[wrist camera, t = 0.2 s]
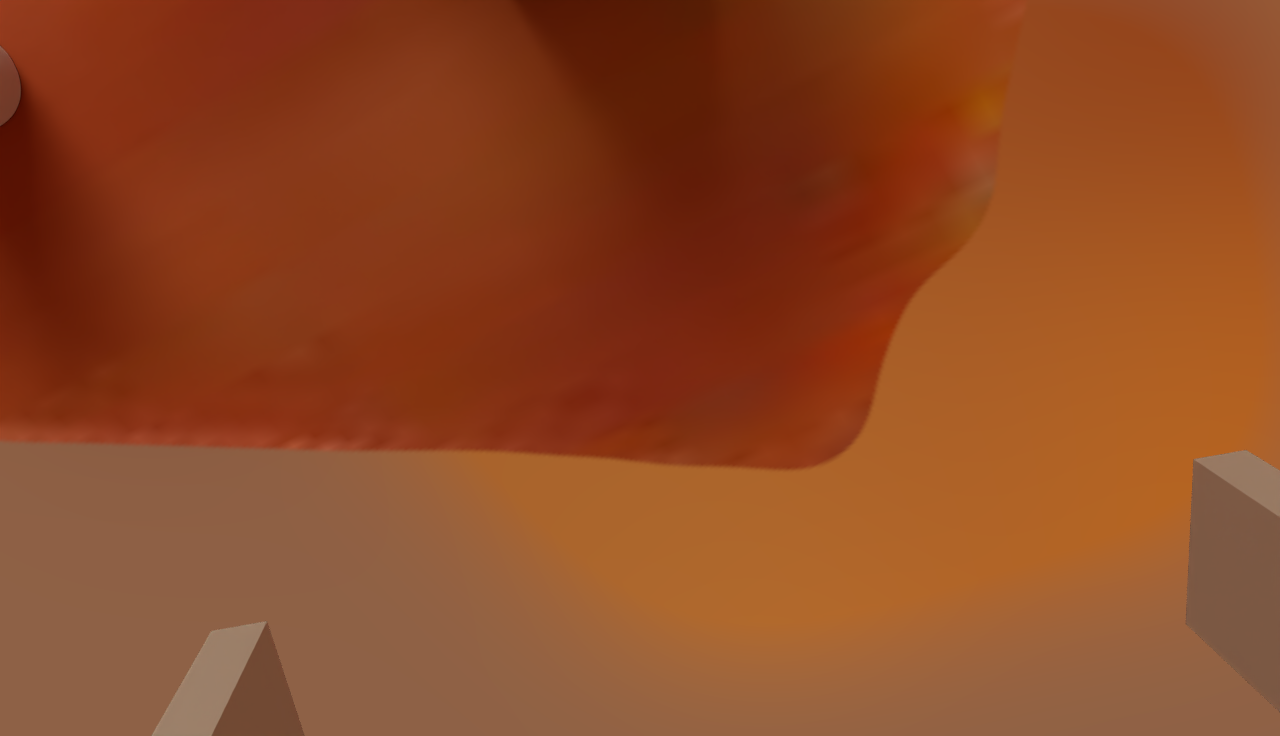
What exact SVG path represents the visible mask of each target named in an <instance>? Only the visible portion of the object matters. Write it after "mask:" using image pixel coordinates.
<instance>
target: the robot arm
mask: <svg viewBox="0 0 1280 736" xmlns="http://www.w3.org/2000/svg"><path fill="white" fill-rule="evenodd" d="M1186 625H1188V626H1189V627H1190V628H1191V629H1192V630H1193V631H1194V632H1195V633H1196V634H1197V635H1198V636H1199V637H1200V638H1202V640H1203V641H1205V642H1206V643H1207V644H1208V645H1209V646H1210V647H1211V648H1212V649H1213V650H1214V651H1215V652H1216V653H1217V654H1218V655H1219V656H1221V657H1222V658H1223V659H1224V660H1225V661H1226V662H1227V663H1228V664H1229V665H1230V666H1231V667H1232V668H1233V669H1234V670H1235V671H1236V672H1238V673H1239V674H1240V675H1241V676H1242V677H1243V678H1244V679H1245V680H1246V681H1247V682H1248V683H1249V684H1250V685H1251V686H1252V687H1254V688H1255V689H1256V690H1257V691H1258V692H1259V693H1260V694H1261V695H1262V696H1263V697H1264V698H1265V699H1266V700H1267V701H1268V702H1269V703H1270V704H1272V705H1273V706H1274V707H1275V708H1276V709H1277V710H1278V711H1279V712H1280V470H1278V469H1276V468H1275V467H1273V466H1271V465H1270V464H1268V463H1266V462H1265V461H1263V460H1261V459H1260V458H1258V457H1257V456H1255V455H1253V454H1252V453H1250V452H1248V451H1247V450H1244V451H1238V452H1233V453H1227V454H1221V455H1215V456H1210V457H1204V458H1198V459H1194V461H1193V482H1192V503H1191V524H1190V544H1189V566H1188V587H1187V608H1186ZM152 736H304V733H303V730H302V727H301V724H300V721H299V718H298V715H297V711H296V708H295V705H294V702H293V699H292V696H291V693H290V690H289V687H288V684H287V681H286V678H285V675H284V672H283V669H282V665H281V662H280V659H279V656H278V653H277V650H276V648H275V644H274V641H273V638H272V635H271V632H270V629H269V626H268V623H267V621H266V622H260V623H254V624H248V625H242V626H237V627H231V628H225V629H219V630H214V631H211V632H210V634H209V636H208V638H207V639H206V641H205V643H204V645H203V647H202V648H201V650H200V652H199V654H198V655H197V657H196V659H195V661H194V662H193V664H192V666H191V667H190V669H189V671H188V673H187V675H186V676H185V678H184V680H183V682H182V683H181V685H180V687H179V689H178V690H177V692H176V694H175V696H174V697H173V699H172V701H171V703H170V704H169V706H168V708H167V710H166V711H165V713H164V715H163V717H162V718H161V720H160V722H159V724H158V725H157V727H156V729H155V731H154V732H153V734H152Z"/></svg>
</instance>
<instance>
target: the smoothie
mask: <svg viewBox="0 0 1280 736" xmlns="http://www.w3.org/2000/svg"><path fill="white" fill-rule="evenodd" d="M20 96H21V84H20V79H19V75H18V72H17V69H16V67H15V65H14V63H13V61H12V60H11V58H10V56H9V55H8V54H7V53H6V51H5V50H4V49H3V48H2V47H1V46H0V126H1V125H3V124H4V123H5V122H7V121H8V120H9V119H10V118H11V117H12V115H13V114H14V113H15V111H16V109H17V107H18V104H19V101H20Z"/></svg>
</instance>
